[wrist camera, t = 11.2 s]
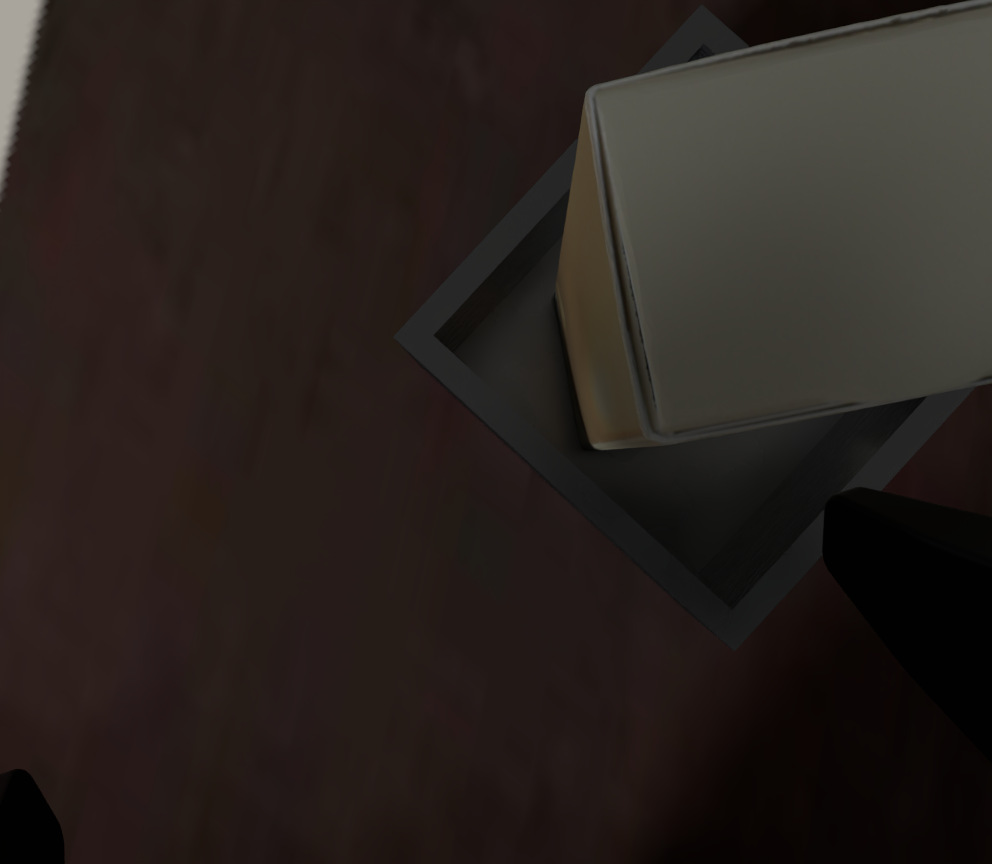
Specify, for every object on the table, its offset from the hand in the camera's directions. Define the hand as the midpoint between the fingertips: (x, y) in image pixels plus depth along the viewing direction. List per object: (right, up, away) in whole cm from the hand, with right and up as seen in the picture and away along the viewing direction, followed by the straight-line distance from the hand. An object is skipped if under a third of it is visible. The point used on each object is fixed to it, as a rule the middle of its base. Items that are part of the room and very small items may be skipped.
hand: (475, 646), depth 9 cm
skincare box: (+5, +4, +12) cm, 14 cm away
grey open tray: (+5, +4, +13) cm, 14 cm away
